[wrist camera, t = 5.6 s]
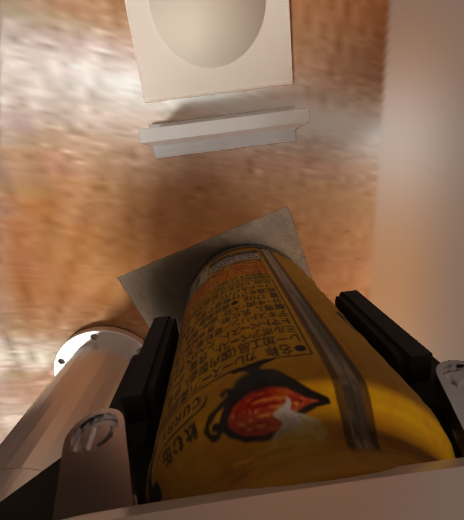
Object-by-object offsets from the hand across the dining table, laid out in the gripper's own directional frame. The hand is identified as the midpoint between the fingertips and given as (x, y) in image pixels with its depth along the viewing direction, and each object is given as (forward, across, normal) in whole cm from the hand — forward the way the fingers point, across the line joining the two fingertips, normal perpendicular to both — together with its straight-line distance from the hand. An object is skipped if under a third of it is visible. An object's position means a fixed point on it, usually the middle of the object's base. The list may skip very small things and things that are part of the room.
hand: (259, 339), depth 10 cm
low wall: (+21, 0, -10) cm, 23 cm away
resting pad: (+21, 0, -20) cm, 29 cm away
